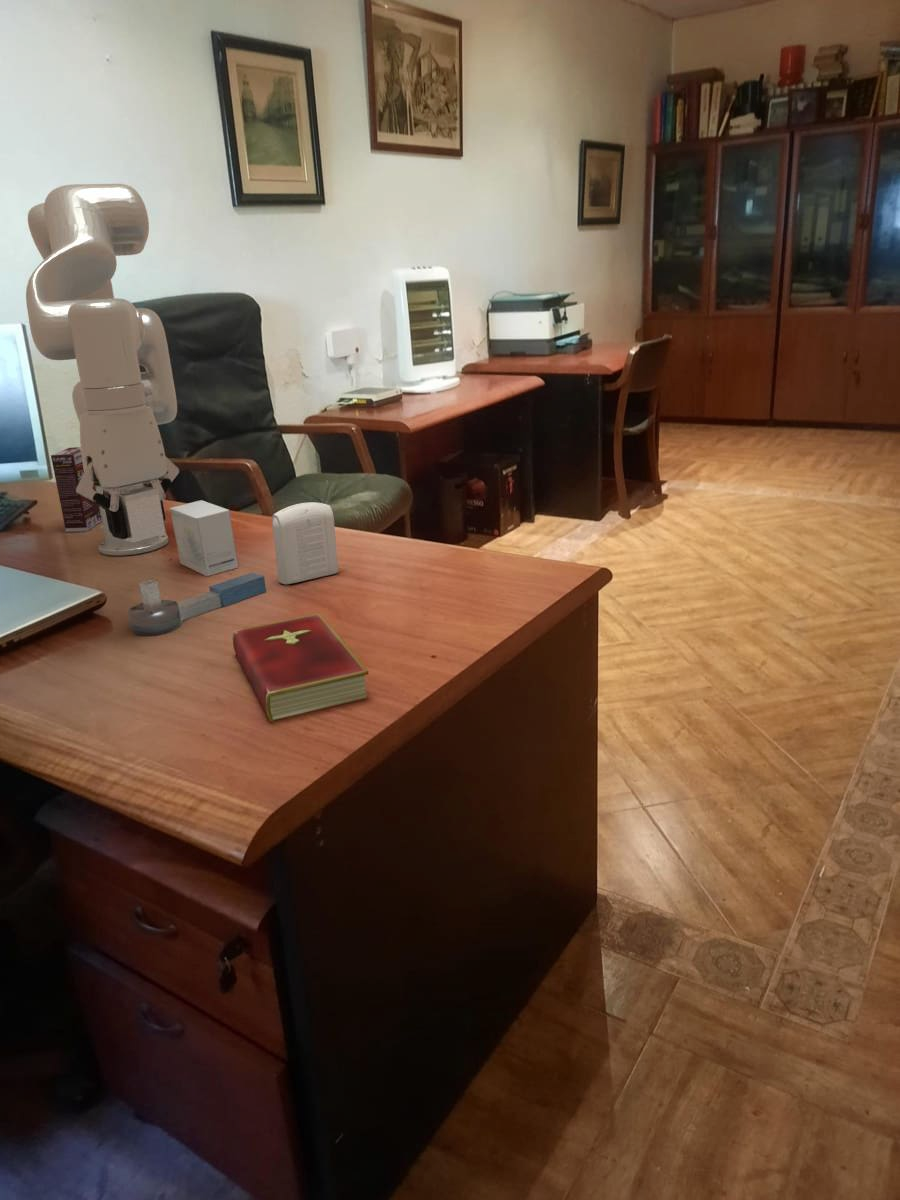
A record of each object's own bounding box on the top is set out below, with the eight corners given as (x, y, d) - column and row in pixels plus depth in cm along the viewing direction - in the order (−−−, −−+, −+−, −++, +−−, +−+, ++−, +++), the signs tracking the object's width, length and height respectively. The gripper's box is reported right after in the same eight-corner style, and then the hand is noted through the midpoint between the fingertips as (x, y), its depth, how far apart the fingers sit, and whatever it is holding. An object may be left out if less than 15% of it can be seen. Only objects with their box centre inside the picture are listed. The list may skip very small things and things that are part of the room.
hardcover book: (269, 726, 98) (264, 692, 97) (235, 658, 117) (230, 628, 115) (371, 701, 103) (368, 669, 101) (322, 640, 121) (319, 611, 119)
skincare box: (178, 564, 155) (168, 506, 152) (211, 555, 159) (202, 499, 156) (205, 577, 148) (195, 516, 144) (239, 567, 152) (231, 508, 148)
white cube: (114, 537, 122) (105, 492, 120) (146, 528, 126) (138, 484, 124) (133, 542, 119) (124, 496, 117) (165, 533, 123) (158, 488, 120)
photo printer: (331, 567, 149) (324, 496, 145) (343, 573, 146) (335, 500, 141) (274, 581, 144) (265, 507, 140) (285, 587, 141) (276, 512, 136)
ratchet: (121, 629, 127) (113, 584, 125) (246, 585, 143) (241, 545, 140) (147, 639, 123) (139, 594, 121) (273, 593, 138) (268, 552, 136)
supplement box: (88, 531, 179) (72, 454, 174) (65, 533, 179) (48, 455, 174) (104, 520, 187) (90, 446, 182) (82, 521, 187) (67, 447, 182)
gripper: (157, 390, 124) (178, 515, 131) (38, 407, 113) (67, 544, 119) (186, 392, 120) (207, 522, 126) (65, 410, 108) (94, 552, 114)
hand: (139, 531), depth 122 cm, fingers closed on white cube, 5 cm apart
